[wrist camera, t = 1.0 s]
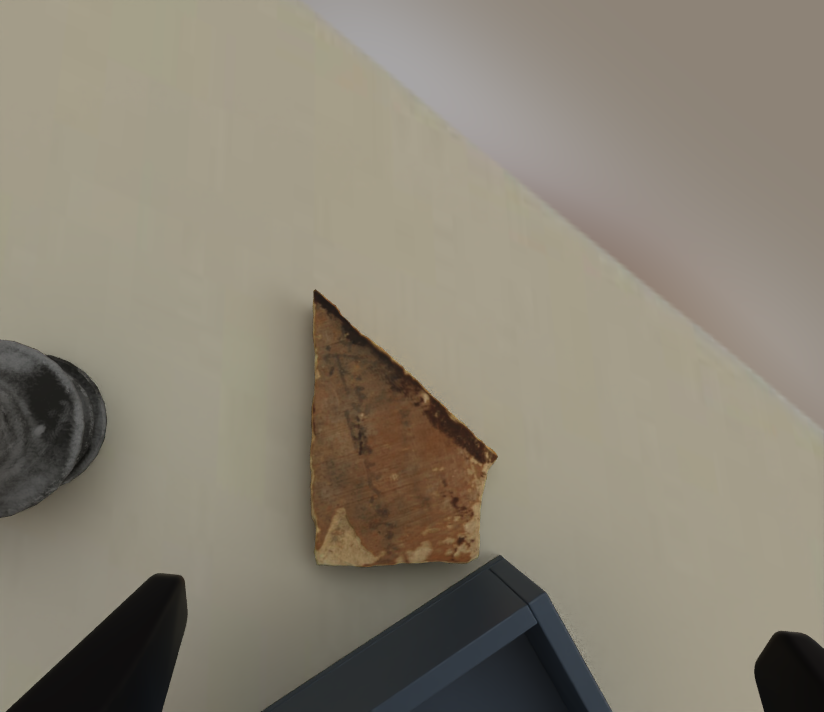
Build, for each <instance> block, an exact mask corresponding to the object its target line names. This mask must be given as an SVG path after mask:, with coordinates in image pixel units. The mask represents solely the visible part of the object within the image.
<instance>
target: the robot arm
mask: <svg viewBox="0 0 824 712" xmlns="http://www.w3.org/2000/svg"><path fill="white" fill-rule="evenodd" d="M187 615H188V609H187V599H186V589H185V581H184V578H183V577H182V576H181V575H174V574H164V573H157V574H155V575H153V576H151V577H150V578H149V579H148V580H147V581H145V582H144V583H143V584H142V585H141V586H140V587H139V588H138V589H137V590H136V591H135V592H134V593H133V594H132V595H130V596H129V597H128V598H127V599H126V600H125V601H124V602H123V603H122V604H121V605H120V606H119V607H118V608H117V609H115V610H114V611H113V612H112V613H111V614H110V615H109V616H108V617H107V618H106V619H105V620H104V621H103V622H102V623H100V624H99V625H98V626H97V627H96V628H95V629H94V630H93V631H92V632H91V633H90V634H89V635H88V636H86V637H85V638H84V639H83V640H82V641H81V642H80V643H79V644H78V645H77V646H76V647H75V648H74V649H73V650H71V651H70V652H69V653H68V654H67V655H66V656H65V657H64V658H63V659H62V660H61V661H60V662H59V663H58V664H56V665H55V666H54V667H53V668H52V669H51V670H50V671H49V672H48V673H47V674H46V675H45V676H44V677H43V678H41V679H40V680H39V681H38V682H37V683H36V684H35V685H34V686H33V687H32V688H31V689H30V690H29V691H27V692H26V693H25V694H24V695H23V696H22V697H21V698H20V699H19V700H18V701H17V702H16V703H15V704H14V705H12V706H11V707H10V708H9V709H8V710H7V711H6V712H162V709H163V705H164V702H165V698H166V695H167V691H168V688H169V684H170V681H171V677H172V674H173V670H174V666H175V663H176V659H177V656H178V652H179V649H180V645H181V642H182V638H183V635H184V631H185V627H186V623H187ZM754 673H755V680H756V684H757V688H758V691H759V695H760V698H761V702H762V705H763V709H764V712H824V648H822V647H821V646H820V645H819V644H818V643H817V642H816V641H814V640H813V639H812V638H811V637H809V636H808V635H806V634H803V633H799V632H788V631H778V632H776V633H775V634H774V635H773V636H772V637H771V639H770V640H769V642H768V643H767V645H766V647H765V648H764V650H763V651H762V653H761V654H760V656H759V657H758V659H757V661H756V663H755V669H754Z"/></svg>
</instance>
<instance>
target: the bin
mask: <svg viewBox="0 0 824 712" xmlns="http://www.w3.org/2000/svg"><path fill="white" fill-rule="evenodd" d="M261 712H612V710H611V708H610V706H609V705H608V703H607V701H606V699H605V697H604V696H603V694H602V692H601V690H600V688H599V687H598V685H597V683H596V681H595V679H594V678H593V676H592V674H591V672H590V670H589V669H588V667H587V665H586V663H585V661H584V660H583V658H582V656H581V654H580V652H579V651H578V649H577V647H576V645H575V643H574V641H573V640H572V638H571V636H570V634H569V632H568V631H567V629H566V627H565V625H564V623H563V622H562V620H561V618H560V616H559V614H558V613H557V611H556V609H555V607H554V605H553V604H552V602H551V600H550V598H549V596H548V595H547V593H546V592H545V591H544V590H543V589H541V588H540V587H539V586H538V585H536V584H535V583H534V582H533V581H531V580H530V579H529V578H528V577H526V576H525V575H524V574H523V573H521V572H520V571H519V570H518V569H517V568H515V567H514V566H513V565H512V564H510V563H509V562H508V561H507V560H505V559H504V558H503V557H502V556H501V555H499V556H498V557H496V558H494V559H493V560H491V561H490V562H488V563H487V564H485V565H484V566H482V567H481V568H479V569H478V570H476V571H475V572H473V573H472V574H470V575H469V576H467V577H466V578H464V579H462V580H461V581H459V582H458V583H456V584H455V585H453V586H452V587H450V588H449V589H447V590H446V591H444V592H443V593H441V594H440V595H438V596H437V597H435V598H434V599H432V600H430V601H429V602H427V603H426V604H424V605H423V606H421V607H420V608H418V609H417V610H415V611H414V612H412V613H411V614H409V615H408V616H406V617H405V618H403V619H402V620H400V621H398V622H397V623H395V624H394V625H392V626H391V627H389V628H388V629H386V630H385V631H383V632H382V633H380V634H379V635H377V636H376V637H374V638H373V639H371V640H370V641H368V642H366V643H365V644H363V645H362V646H360V647H359V648H357V649H356V650H354V651H353V652H351V653H350V654H348V655H347V656H345V657H344V658H342V659H341V660H339V661H338V662H336V663H334V664H333V665H331V666H330V667H328V668H327V669H325V670H324V671H322V672H321V673H319V674H318V675H316V676H315V677H313V678H312V679H310V680H309V681H307V682H306V683H304V684H302V685H301V686H299V687H298V688H296V689H295V690H293V691H292V692H290V693H289V694H287V695H286V696H284V697H283V698H281V699H280V700H278V701H277V702H275V703H274V704H272V705H270V706H269V707H267V708H266V709H264V710H263V711H261Z"/></svg>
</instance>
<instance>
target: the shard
mask: <svg viewBox="0 0 824 712" xmlns="http://www.w3.org/2000/svg"><path fill="white" fill-rule="evenodd" d="M313 293H314V299H313V314H314V316H313V340H314V349H315V388H314V397H313V403H312V411H311V413H312V419H311V427H312V441H311V448H310V460H311V461H310V469H311V472H312V473H311V484H310V489H311V516H312V519H313V521H314V523H315V527H316V537H315V549H314V554H315V557H316V558H315V559H316V563H317V565H327V566H338V565H342V566H356V567H372V566H385V565H396V564H399V563H408V564H411V563H425V562H446V563H457V564H464V563H469V562H470V561H472V560H475V559H477V558H478V556H479V545H480V534H479V528H480V508H481V499H482V494H483V491H484V487H485V482H486V479H487V472H488V470H489V468H490V467H491V465H492V464H493V463H494V462H495V461H496V459H497V457H498V456H497V454H496V453H495V452H494V451H493V450H492V449H491V448H489V447H488V446H486V445H485V444H484V442H483V441H481V440H480V439H478V438H477V437H476V436H475V435H474V434H473V433H472V431H471V430H469V429H468V428H467V426H466V425H465V424H464V423H462V422H461V421H459V420H458V419H457V418H456V417H455V416H454V415H453V414H451V413H450V412H449V411H448V409H447V408H446V407H445V406H444V405H443V404H441V403H440V402H439V401H438V400H437V399H436V398H434V397H433V396H432V395H431V394H430V393H429V392H428V391H427V390H426V389H425V388H424V387H423V386H422V384H421V383H420V382H418V381H417V380H416V379H415V378H414V377H413V376H412V375H411V373H409V372H407V371H406V370H405V369H404V368H403V366H402V365H400V364H399V363H398V362H397V361H395V360H394V359H393V358H392V357H391V356H390V355H389V354H388V353H387V352H385V351H384V350H383V349H382V348H381V347H380V346H378V345H376V344H375V343H374V342H373V341H372V340H370V339H369V338H368V337H366V336H364V335H362V334H361V333H360V332H359V331H358V330H357V329H356V328H355V327H354V326H352V325H351V324H350V323H349V321H348V320H347V319H345V318H344V317H343V316H342V315H341V313H340V311H339V310H338V308H337V307H336V305H334V304H333V303H331V302H330V301H329V300H328V299H326V298H325V297H324V296H323V295H322V294H321V293H319V292H318V291H317V290H316V289H315V290H314V291H313Z"/></svg>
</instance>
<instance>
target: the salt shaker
mask: <svg viewBox="0 0 824 712" xmlns="http://www.w3.org/2000/svg"><path fill="white" fill-rule="evenodd" d="M106 424H107V417H106V410H105V403H104V401H103V399H102V396H101V394H100V392H99V390H98V387H97V386H96V385H95V384H94V382H93V381H92V380H91V379H90V378H89V376H88V375H87V374H86V373H85V372H83V371H82V370H81V369H79V368H78V367H76V366H75V365H73V364H72V363H71V362H68V361H65V360H63V359H60V358H57V357H54V356H50V355H44V354H43V353H41V352H40V351H38V350H37V349H34V348H31V347H28V346H26V345H23V344H20V343H17V342H15V341H8V340H0V518H2V517H7V516H12V515H14V514H16V513H19V512H21V511H23V510H26V509H28V508H30V507H32V506H35V505H37V504H38V503H39V502H41V501H42V500H43V499H45V498H46V497H47V496H49V495H50V494H51V493H53V492H54V491H55V490H57V488H58V487H59V486H61V485H64V484H66V483H68V482H70V481H72V480H73V479H74V478H75V477H77V476H78V475H79V474H81V473H82V472H83V471H85V470H86V469H87V467H88V466H89V465H90V463H91V462H92V461H93V460H94V458H95V457H96V456H97V454H98V452H99V450H100V447H101V445H102V443H103V441H104V438H105V431H106Z"/></svg>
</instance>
